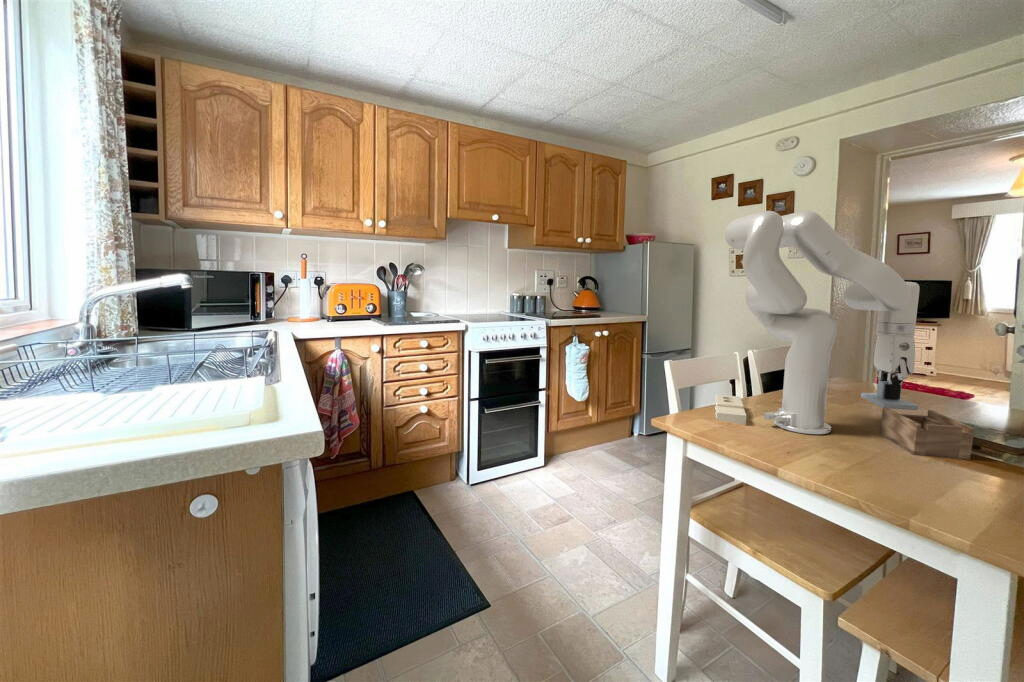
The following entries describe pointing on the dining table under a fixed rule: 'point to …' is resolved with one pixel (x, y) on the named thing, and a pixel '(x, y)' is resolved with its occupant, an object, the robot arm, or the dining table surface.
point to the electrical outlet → (730, 409)
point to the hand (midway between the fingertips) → (888, 397)
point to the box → (928, 434)
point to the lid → (888, 403)
